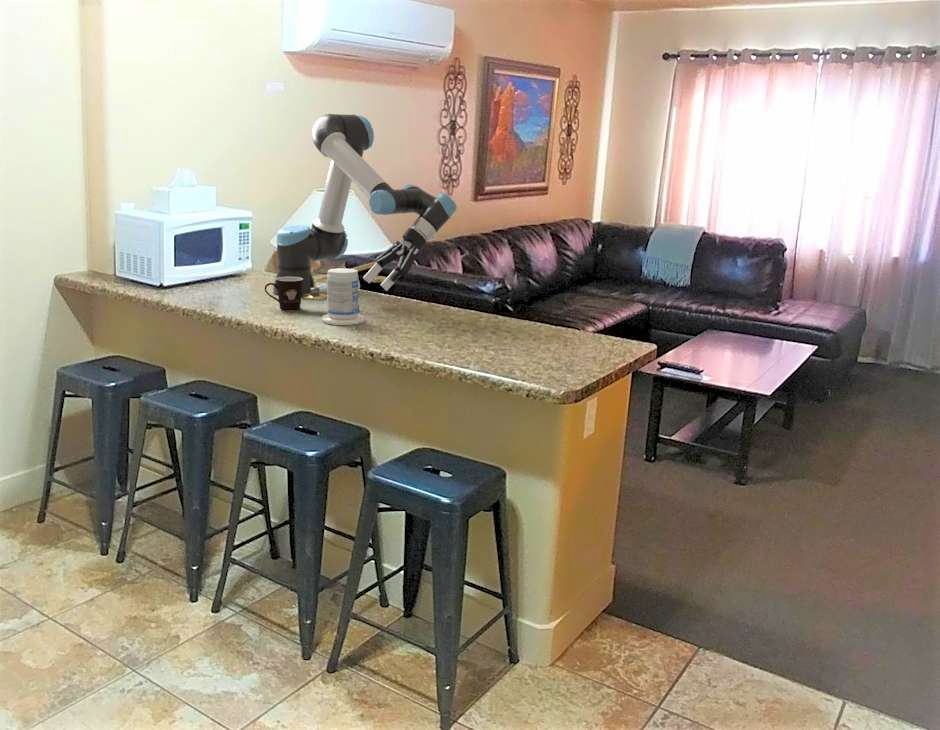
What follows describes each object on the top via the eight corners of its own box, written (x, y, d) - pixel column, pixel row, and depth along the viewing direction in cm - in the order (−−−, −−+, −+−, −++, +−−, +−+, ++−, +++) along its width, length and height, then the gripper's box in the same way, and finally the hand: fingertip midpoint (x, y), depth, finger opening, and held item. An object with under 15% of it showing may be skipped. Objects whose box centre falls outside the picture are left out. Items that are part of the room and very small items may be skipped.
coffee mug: (306, 307, 297) (306, 277, 294) (299, 312, 288) (298, 281, 286) (272, 305, 298) (271, 275, 295) (264, 310, 289) (263, 279, 287)
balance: (299, 310, 291) (298, 263, 287) (382, 304, 306) (382, 259, 302) (307, 315, 285) (306, 267, 281) (392, 308, 299) (392, 263, 295)
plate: (315, 318, 280) (315, 314, 280) (354, 315, 287) (354, 311, 286) (330, 327, 269) (330, 323, 269) (370, 323, 276) (370, 320, 275)
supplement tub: (359, 320, 275) (360, 272, 271) (328, 320, 272) (328, 272, 269) (356, 313, 284) (356, 267, 280) (326, 314, 282) (326, 267, 278)
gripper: (444, 248, 275) (399, 299, 272) (408, 238, 296) (366, 285, 293) (429, 231, 271) (383, 283, 268) (394, 222, 292) (351, 269, 289)
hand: (374, 284), depth 280 cm, fingers open, 13 cm apart
